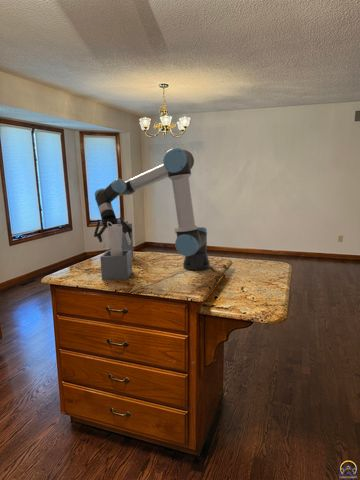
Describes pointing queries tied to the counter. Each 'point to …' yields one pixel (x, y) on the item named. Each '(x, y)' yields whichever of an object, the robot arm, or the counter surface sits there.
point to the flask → (124, 241)
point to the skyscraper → (115, 239)
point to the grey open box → (116, 265)
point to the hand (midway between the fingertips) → (117, 245)
